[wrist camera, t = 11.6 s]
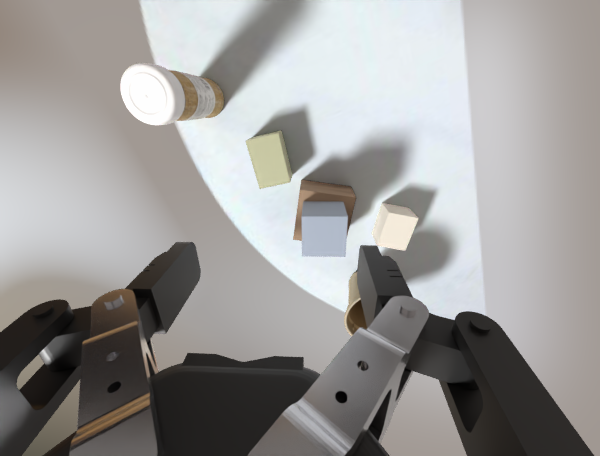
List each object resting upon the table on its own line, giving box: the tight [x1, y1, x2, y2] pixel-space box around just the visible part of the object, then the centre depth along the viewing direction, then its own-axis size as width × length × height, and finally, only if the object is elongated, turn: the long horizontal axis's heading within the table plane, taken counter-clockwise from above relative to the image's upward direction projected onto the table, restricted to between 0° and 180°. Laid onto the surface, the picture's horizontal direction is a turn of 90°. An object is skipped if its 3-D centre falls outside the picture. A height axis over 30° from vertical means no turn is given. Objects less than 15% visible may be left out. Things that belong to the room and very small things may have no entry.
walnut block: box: [293, 180, 356, 241], centre depth 37 cm, size 7×7×5 cm
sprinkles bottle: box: [121, 63, 224, 125], centre depth 27 cm, size 5×5×13 cm
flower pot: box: [344, 272, 367, 336], centre depth 40 cm, size 9×9×9 cm
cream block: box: [372, 203, 419, 251], centre depth 37 cm, size 5×4×4 cm
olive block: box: [246, 130, 292, 189], centre depth 34 cm, size 6×4×4 cm, turn 13°
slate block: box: [302, 201, 348, 257], centre depth 32 cm, size 5×5×5 cm
